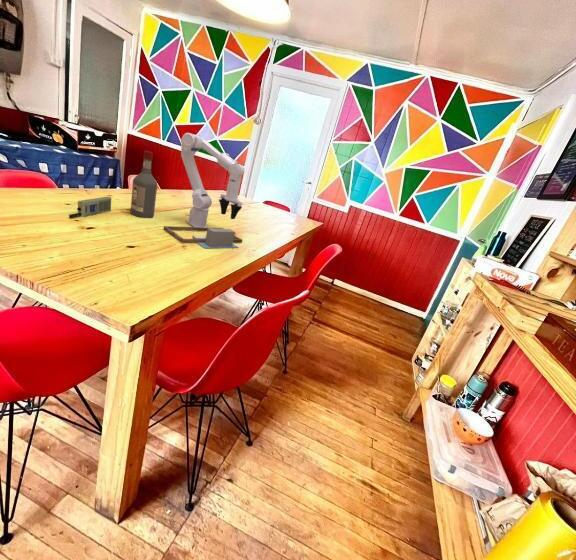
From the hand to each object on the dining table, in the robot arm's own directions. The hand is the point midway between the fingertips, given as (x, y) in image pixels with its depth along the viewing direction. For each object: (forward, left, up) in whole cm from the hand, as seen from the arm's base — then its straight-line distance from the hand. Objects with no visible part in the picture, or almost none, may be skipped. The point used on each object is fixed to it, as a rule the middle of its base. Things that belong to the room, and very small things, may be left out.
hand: (227, 216), depth 161 cm
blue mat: (+16, -14, -9) cm, 23 cm away
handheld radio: (-23, -54, -10) cm, 60 cm away
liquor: (-26, -31, -10) cm, 42 cm away
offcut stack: (+7, -14, -10) cm, 19 cm away
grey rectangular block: (+16, -14, -9) cm, 23 cm away
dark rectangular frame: (+4, -14, -9) cm, 17 cm away
